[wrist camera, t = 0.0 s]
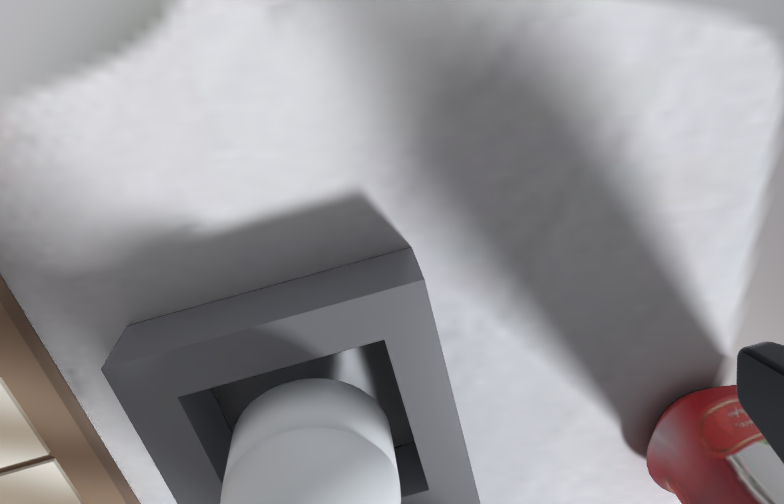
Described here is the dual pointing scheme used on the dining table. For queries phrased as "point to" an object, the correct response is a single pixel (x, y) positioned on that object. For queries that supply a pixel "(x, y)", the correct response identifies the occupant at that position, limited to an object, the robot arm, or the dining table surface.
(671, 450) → the liquor
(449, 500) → the dome collar
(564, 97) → the dining table surface
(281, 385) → the dome
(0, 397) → the game track
